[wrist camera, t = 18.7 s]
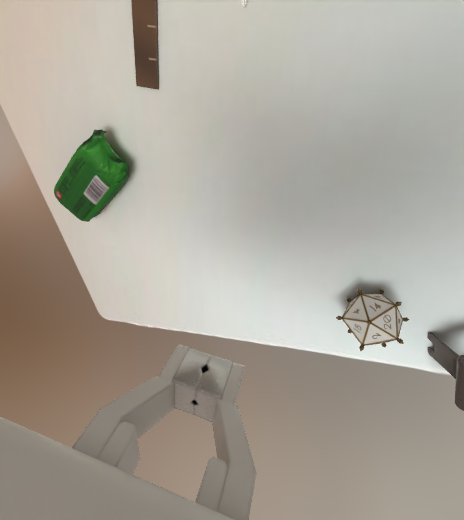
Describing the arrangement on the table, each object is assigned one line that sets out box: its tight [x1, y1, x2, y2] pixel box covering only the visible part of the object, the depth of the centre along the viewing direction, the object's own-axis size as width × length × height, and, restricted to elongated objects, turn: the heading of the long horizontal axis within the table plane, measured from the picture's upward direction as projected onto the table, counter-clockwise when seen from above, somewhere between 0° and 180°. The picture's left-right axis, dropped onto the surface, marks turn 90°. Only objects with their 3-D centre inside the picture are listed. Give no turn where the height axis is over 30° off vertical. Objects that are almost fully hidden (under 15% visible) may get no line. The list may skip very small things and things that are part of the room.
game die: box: [336, 289, 409, 351], centre depth 37 cm, size 9×8×10 cm
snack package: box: [54, 130, 129, 221], centre depth 40 cm, size 7×16×5 cm, turn 131°
